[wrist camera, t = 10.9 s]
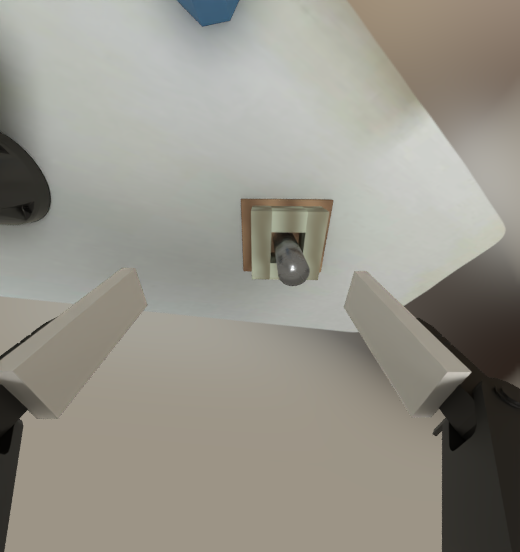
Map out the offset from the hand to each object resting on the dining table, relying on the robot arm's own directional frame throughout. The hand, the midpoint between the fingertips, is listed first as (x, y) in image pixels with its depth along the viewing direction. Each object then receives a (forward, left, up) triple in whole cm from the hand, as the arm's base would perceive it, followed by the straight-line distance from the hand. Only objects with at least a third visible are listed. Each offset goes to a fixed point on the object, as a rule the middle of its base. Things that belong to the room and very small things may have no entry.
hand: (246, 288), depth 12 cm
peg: (+5, -5, -26) cm, 27 cm away
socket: (+5, -5, -27) cm, 28 cm away
